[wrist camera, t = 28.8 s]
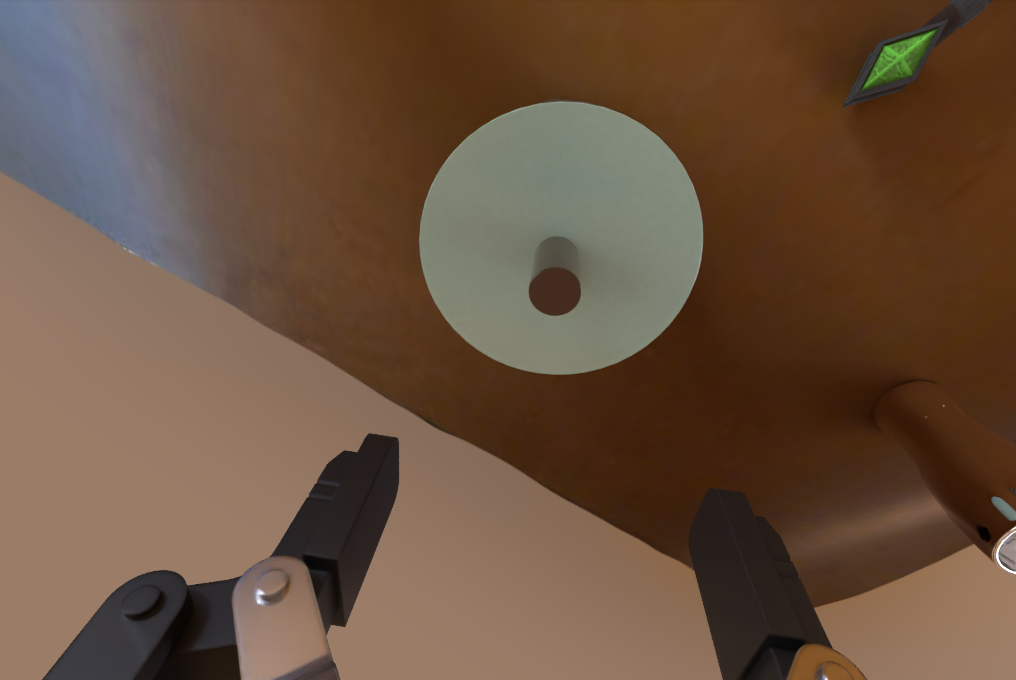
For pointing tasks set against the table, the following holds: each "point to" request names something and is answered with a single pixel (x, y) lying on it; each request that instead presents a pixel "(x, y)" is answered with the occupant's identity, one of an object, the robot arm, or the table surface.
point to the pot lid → (561, 238)
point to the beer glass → (957, 464)
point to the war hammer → (909, 52)
